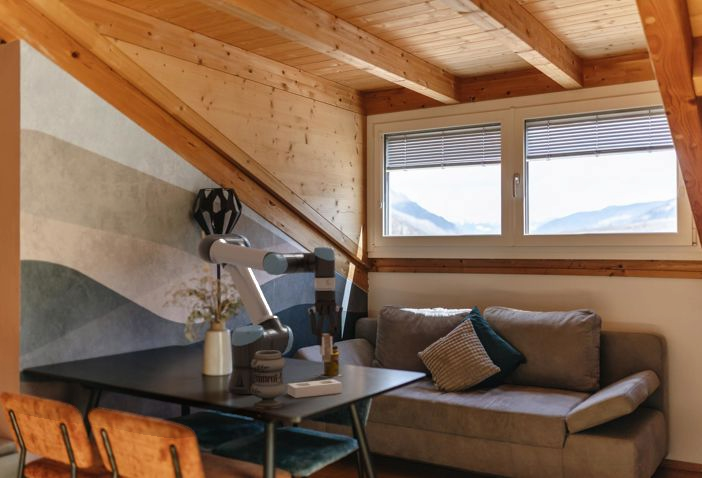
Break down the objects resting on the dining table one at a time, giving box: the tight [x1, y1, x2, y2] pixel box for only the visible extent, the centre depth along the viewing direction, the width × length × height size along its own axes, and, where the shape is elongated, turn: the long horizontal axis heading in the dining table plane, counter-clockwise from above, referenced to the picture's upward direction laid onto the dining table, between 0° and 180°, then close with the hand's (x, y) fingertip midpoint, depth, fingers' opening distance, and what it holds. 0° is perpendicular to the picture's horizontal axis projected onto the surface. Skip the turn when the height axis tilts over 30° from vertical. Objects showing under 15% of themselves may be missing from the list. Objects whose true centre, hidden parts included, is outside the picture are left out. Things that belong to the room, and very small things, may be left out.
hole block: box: [286, 378, 343, 399], centre depth 258 cm, size 18×8×4 cm, turn 115°
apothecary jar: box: [250, 350, 288, 410], centre depth 239 cm, size 12×12×18 cm
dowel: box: [321, 332, 330, 363], centre depth 260 cm, size 3×3×10 cm
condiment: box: [316, 344, 343, 378], centre depth 292 cm, size 7×8×12 cm
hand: (326, 354), depth 260 cm, fingers closed on dowel, 2 cm apart
